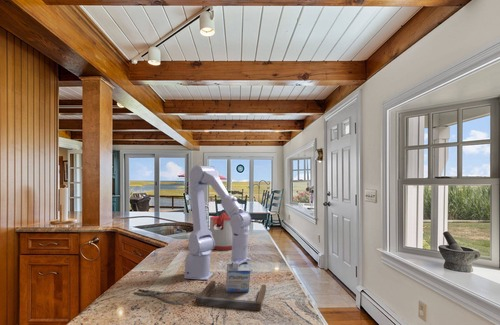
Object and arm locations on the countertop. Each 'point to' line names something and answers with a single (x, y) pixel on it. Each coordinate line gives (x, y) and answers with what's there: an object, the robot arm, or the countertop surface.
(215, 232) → the citrus juicer
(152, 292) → the pliers
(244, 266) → the medicine box
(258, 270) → the countertop surface
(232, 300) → the bay
